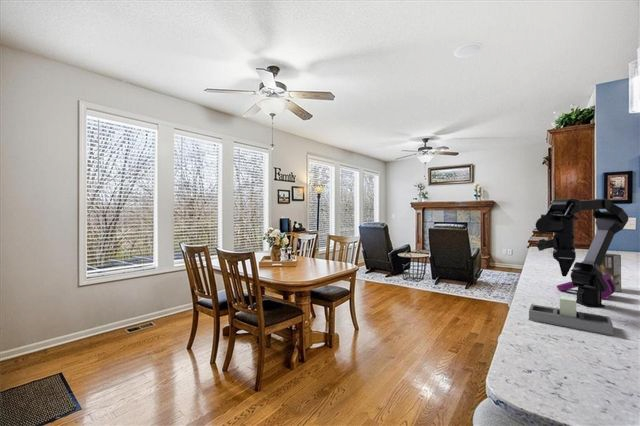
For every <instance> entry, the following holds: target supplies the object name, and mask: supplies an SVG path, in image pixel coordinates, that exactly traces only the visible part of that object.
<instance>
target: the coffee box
mask: <svg viewBox="0 0 640 426" xmlns="http://www.w3.org/2000/svg"><path fill="white" fill-rule="evenodd" d="M600 268H601V270H602V273H603V274H607V273H608V274H609V276H610V277H611V279H612V280H613V282H614V284H615V286H616V290H615V292H614V293H616V292H621V291H622V255H621V254H618V253H617V254H615V253H608V252H606V254H605V257H604V259H603V261H602V263H601V266H600Z"/></svg>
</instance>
